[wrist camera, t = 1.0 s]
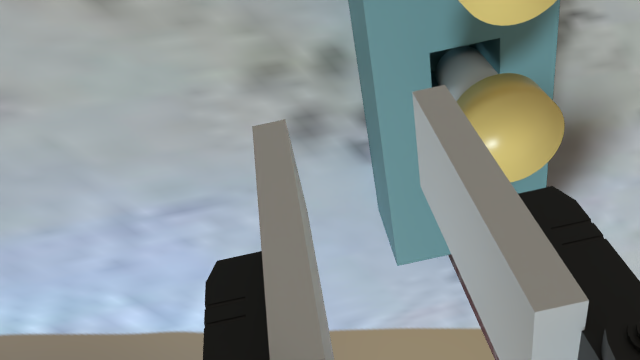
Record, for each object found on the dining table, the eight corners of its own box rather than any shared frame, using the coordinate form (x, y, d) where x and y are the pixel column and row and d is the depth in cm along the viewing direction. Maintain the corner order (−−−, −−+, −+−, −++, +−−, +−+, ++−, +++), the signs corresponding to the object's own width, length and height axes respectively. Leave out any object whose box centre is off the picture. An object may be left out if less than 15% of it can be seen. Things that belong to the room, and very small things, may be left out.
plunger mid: (420, 115, 34) (462, 192, 28) (414, 38, 31) (459, 106, 25) (501, 98, 34) (560, 171, 28) (502, 19, 31) (568, 82, 25)
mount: (378, 210, 45) (397, 265, 40) (320, -189, 29) (339, -178, 24) (508, 182, 45) (542, 233, 40) (518, -232, 29) (576, -229, 24)
